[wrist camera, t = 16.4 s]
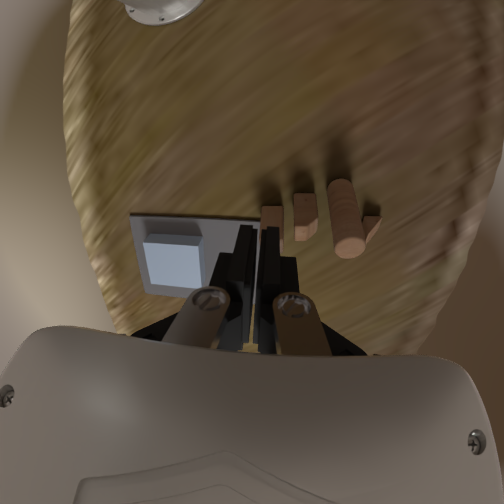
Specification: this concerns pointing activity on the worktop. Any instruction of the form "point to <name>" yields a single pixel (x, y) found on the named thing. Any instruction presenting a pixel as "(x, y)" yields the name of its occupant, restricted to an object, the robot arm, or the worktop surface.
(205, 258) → the mat
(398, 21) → the worktop surface
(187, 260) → the slab
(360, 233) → the wooden block set
